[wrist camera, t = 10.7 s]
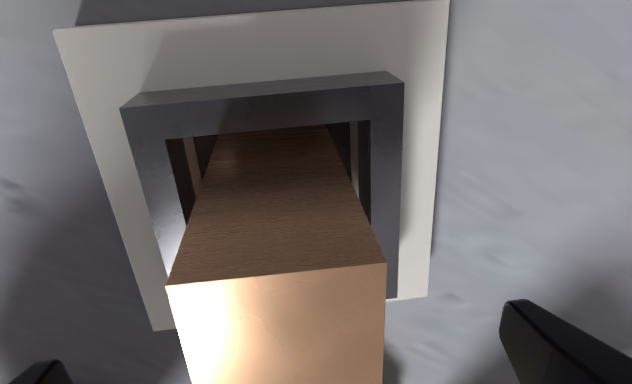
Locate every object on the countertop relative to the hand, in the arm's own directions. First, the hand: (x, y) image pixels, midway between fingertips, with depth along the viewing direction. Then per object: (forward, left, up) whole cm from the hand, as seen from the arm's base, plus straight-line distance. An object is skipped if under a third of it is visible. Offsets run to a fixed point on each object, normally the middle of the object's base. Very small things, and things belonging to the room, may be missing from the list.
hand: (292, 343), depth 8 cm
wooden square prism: (0, 0, -9) cm, 9 cm away
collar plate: (0, 0, -9) cm, 9 cm away
